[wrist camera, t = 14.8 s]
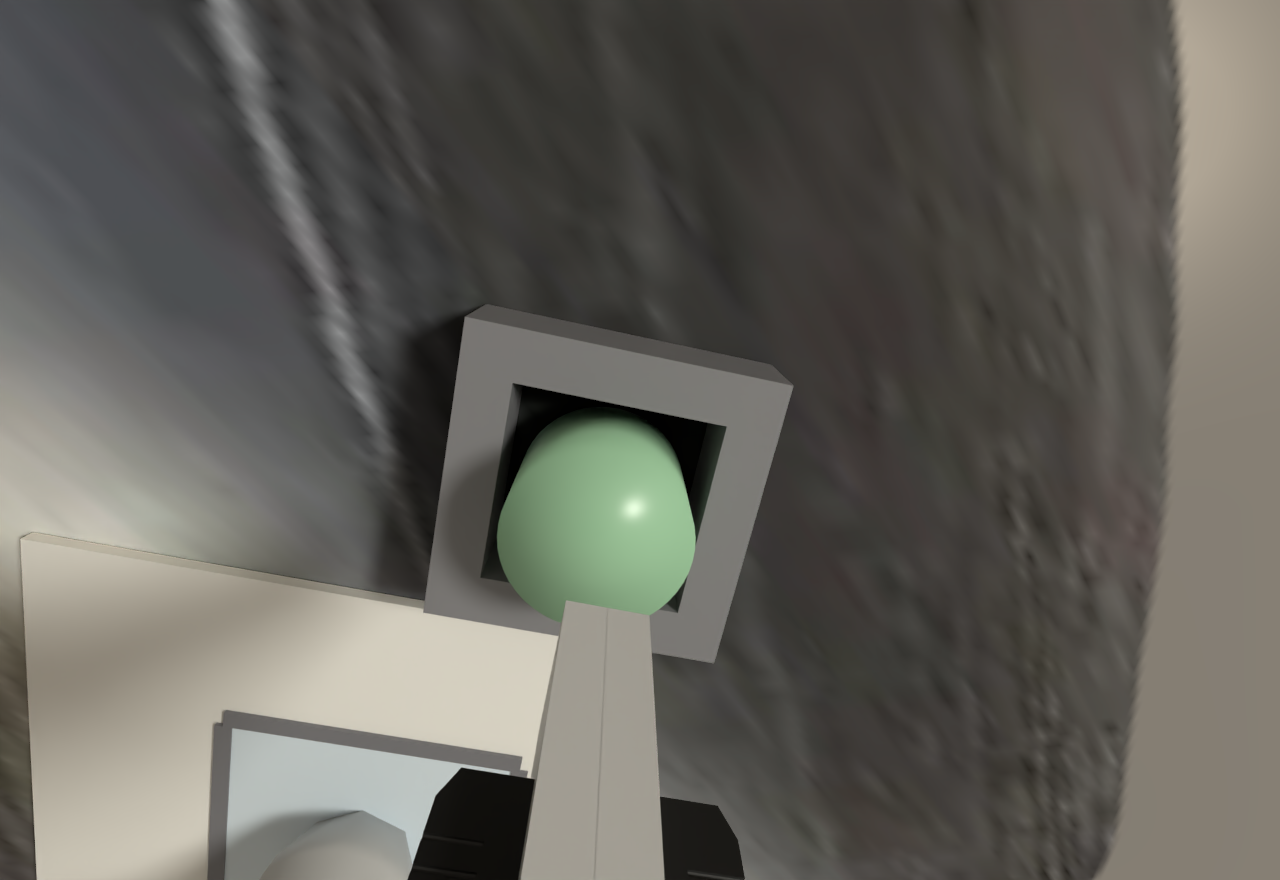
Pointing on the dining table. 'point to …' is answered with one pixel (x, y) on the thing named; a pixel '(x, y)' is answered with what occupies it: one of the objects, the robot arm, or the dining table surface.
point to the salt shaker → (345, 851)
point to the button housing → (620, 374)
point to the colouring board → (247, 710)
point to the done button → (597, 516)
